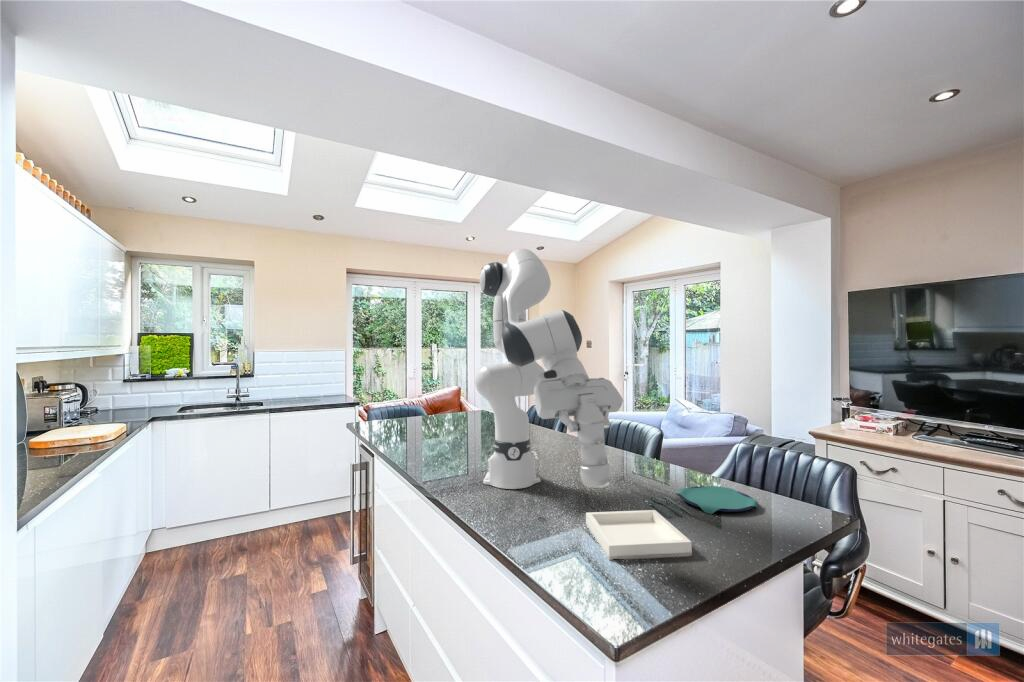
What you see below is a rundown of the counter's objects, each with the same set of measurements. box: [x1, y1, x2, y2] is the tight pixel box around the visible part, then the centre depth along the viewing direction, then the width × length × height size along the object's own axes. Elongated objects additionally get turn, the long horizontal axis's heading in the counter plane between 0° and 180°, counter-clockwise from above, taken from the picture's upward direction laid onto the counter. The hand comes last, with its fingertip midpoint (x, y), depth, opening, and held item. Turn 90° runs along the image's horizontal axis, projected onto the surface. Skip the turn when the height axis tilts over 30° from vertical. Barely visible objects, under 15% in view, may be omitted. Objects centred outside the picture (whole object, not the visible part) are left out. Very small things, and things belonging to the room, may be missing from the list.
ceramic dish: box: [585, 509, 693, 561], centre depth 99 cm, size 18×18×3 cm
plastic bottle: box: [573, 393, 612, 489], centre depth 93 cm, size 6×7×20 cm
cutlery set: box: [645, 485, 759, 519], centre depth 122 cm, size 20×30×2 cm, turn 100°
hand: (590, 428), depth 93 cm, fingers closed on plastic bottle, 6 cm apart
